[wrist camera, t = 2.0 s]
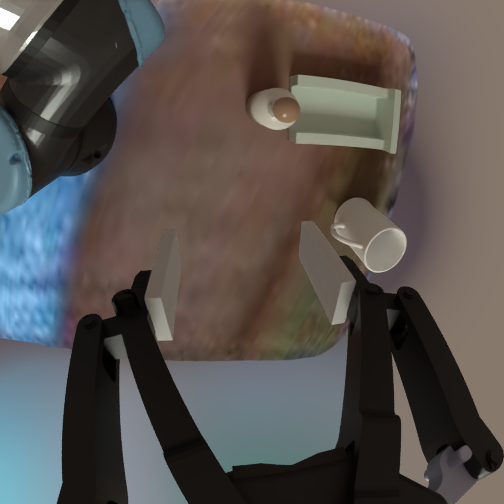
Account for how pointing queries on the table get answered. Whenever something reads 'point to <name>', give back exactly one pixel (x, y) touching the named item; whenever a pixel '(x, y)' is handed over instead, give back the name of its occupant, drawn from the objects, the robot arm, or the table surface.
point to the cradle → (345, 113)
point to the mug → (369, 234)
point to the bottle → (273, 108)
